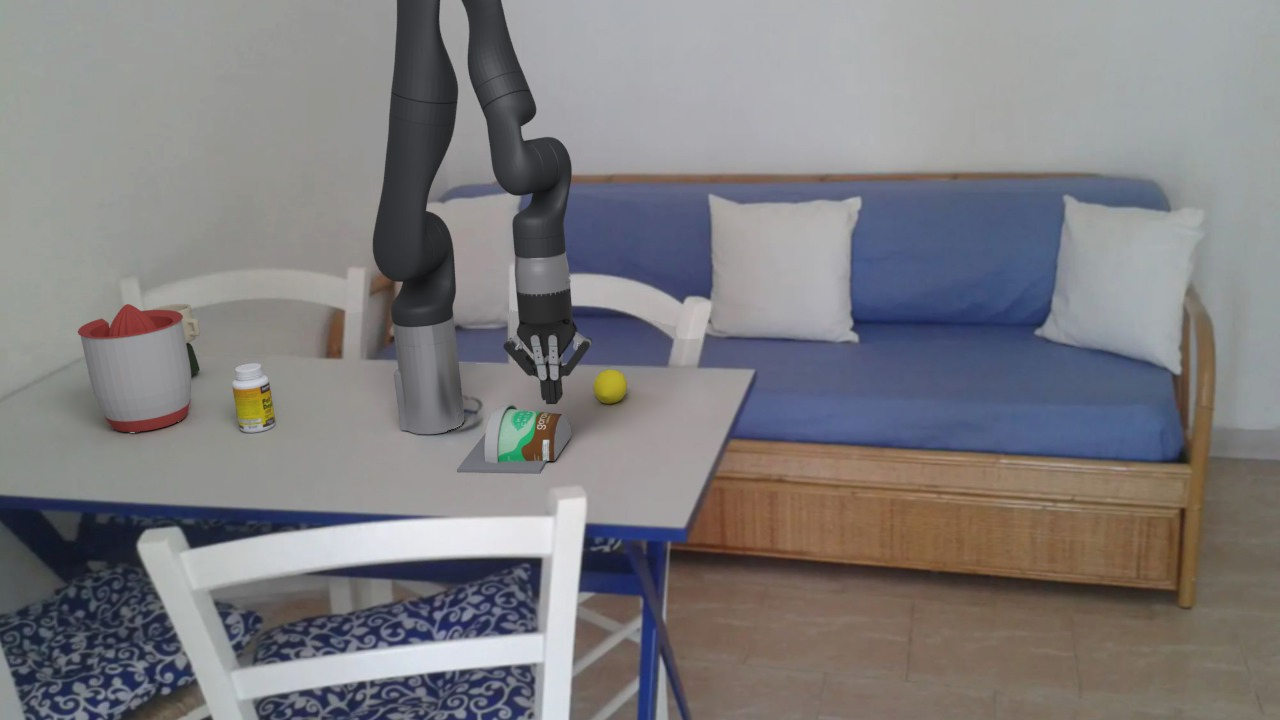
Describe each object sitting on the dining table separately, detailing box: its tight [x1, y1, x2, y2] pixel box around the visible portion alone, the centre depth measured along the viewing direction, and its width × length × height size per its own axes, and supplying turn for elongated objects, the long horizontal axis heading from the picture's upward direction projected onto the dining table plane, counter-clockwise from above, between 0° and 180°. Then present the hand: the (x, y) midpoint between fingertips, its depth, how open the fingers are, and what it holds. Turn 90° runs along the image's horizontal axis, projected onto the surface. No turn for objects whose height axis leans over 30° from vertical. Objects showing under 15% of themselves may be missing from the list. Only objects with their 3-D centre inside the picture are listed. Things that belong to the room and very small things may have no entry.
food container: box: [485, 404, 572, 463], centre depth 165 cm, size 12×6×10 cm
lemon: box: [592, 369, 628, 405], centre depth 183 cm, size 7×5×5 cm
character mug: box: [151, 303, 201, 377], centre depth 208 cm, size 11×7×13 cm, turn 74°
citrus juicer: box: [77, 303, 192, 433], centre depth 185 cm, size 16×17×20 cm
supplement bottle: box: [231, 362, 276, 434], centre depth 180 cm, size 6×6×10 cm
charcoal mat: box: [456, 432, 548, 474], centre depth 166 cm, size 12×16×1 cm
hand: (552, 402), depth 163 cm, fingers closed
